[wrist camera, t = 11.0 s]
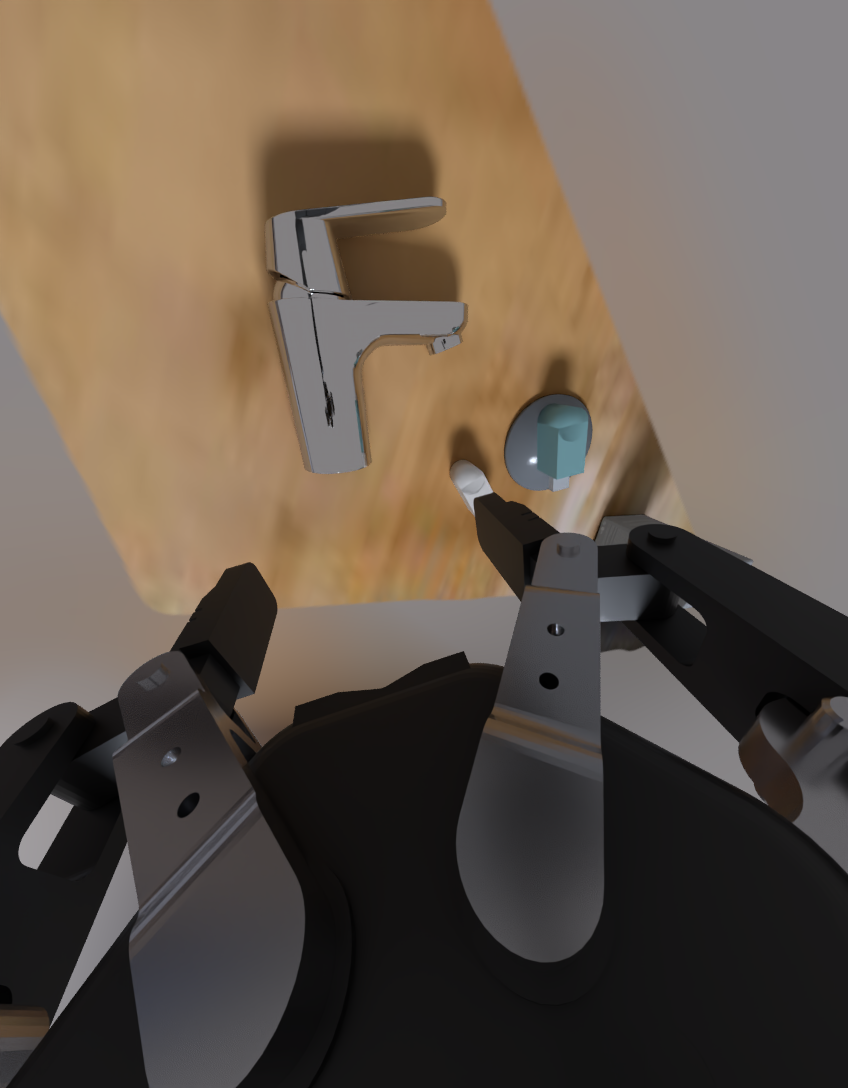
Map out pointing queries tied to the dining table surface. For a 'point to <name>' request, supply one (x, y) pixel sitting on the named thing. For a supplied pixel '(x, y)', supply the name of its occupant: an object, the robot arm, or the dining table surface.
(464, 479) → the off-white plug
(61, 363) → the dining table surface
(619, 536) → the skincare box
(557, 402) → the slate coaster
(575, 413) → the teal plug
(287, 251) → the chrome faucet
